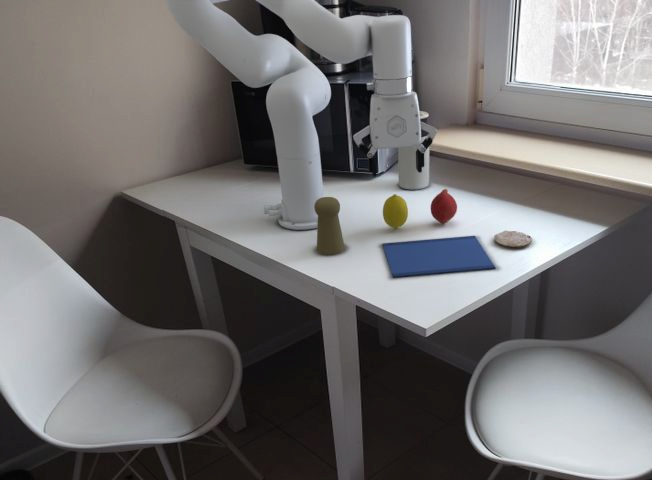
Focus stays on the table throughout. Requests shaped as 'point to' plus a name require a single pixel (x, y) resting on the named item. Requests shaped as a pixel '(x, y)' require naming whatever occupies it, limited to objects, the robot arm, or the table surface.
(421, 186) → the travel mug
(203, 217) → the table surface
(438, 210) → the onion
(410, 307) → the table surface
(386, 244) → the blue rectangular board
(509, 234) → the flatbread
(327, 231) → the olive pawn
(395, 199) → the lemon
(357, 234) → the table surface
